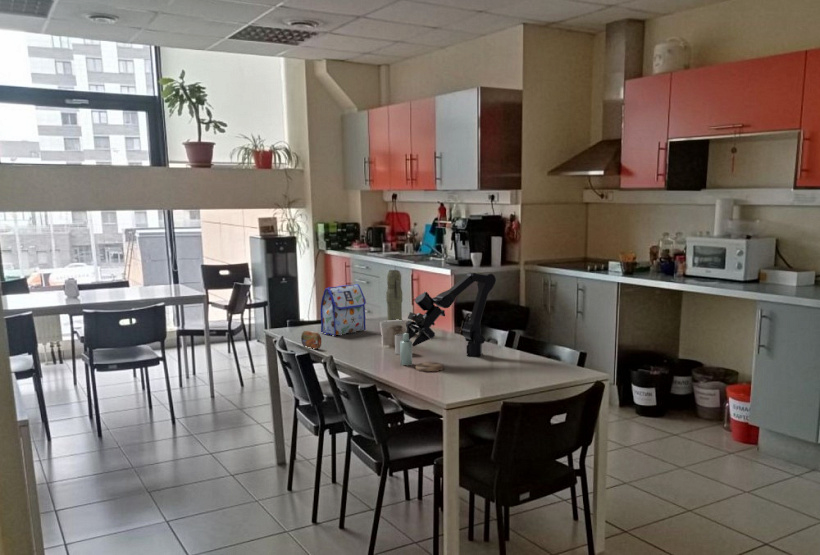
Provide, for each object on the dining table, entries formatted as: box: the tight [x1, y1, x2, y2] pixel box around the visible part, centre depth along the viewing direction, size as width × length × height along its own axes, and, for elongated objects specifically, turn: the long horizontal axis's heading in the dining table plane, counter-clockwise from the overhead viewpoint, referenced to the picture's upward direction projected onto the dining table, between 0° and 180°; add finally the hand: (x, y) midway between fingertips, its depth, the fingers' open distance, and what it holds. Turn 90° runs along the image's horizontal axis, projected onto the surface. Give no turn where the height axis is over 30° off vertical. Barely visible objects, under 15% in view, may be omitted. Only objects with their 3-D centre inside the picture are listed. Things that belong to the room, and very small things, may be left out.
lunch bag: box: [320, 283, 367, 337], centre depth 362 cm, size 23×17×27 cm
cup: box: [394, 333, 411, 356], centre depth 311 cm, size 7×10×9 cm
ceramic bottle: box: [399, 332, 413, 366], centre depth 288 cm, size 5×5×14 cm
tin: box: [300, 330, 322, 350], centre depth 325 cm, size 15×3×8 cm, turn 42°
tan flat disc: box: [415, 362, 444, 372], centre depth 281 cm, size 12×12×1 cm
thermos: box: [385, 269, 403, 321], centre depth 359 cm, size 9×12×35 cm
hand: (408, 343), depth 288 cm, fingers open, 9 cm apart
